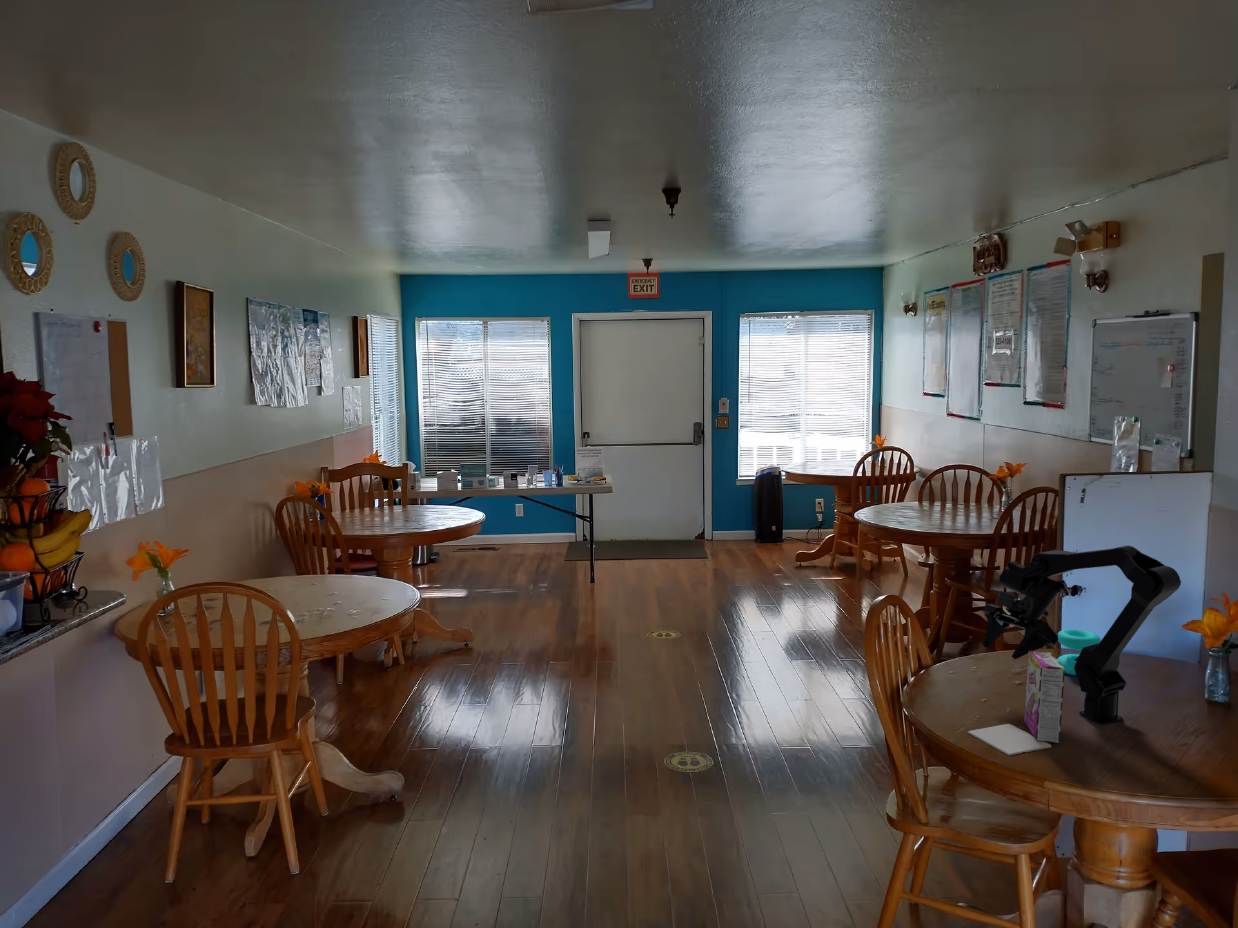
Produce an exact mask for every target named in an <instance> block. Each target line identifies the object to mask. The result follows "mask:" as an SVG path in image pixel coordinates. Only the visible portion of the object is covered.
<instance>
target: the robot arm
mask: <svg viewBox="0 0 1238 928" xmlns="http://www.w3.org/2000/svg"><path fill="white" fill-rule="evenodd" d="M1112 566H1117V568H1118V569H1119V570H1121V572H1122V573H1123V575H1124V576H1125V578H1126V579H1127V580H1129V582H1131V583H1132V585H1131V594H1130V595H1131V596H1130V599H1129V601H1128V602H1127V604H1126V605H1125V606H1124V607H1123V609H1122V611H1121V612H1119V615H1118V616H1117V618H1116V619H1115V620H1114V622H1113V623H1112V625H1111V626H1110V627H1109V629H1108V630H1107V632H1106V633H1105V634H1104V636H1103V637H1102V639H1101V641H1100V643H1097V644H1094V645H1090V646H1087V647H1084V648H1083V649H1082V650H1080V653H1079V654H1078V655H1079V656H1078V657H1077V658H1076V659H1074V661H1077V662H1076V663H1075V665H1074V670H1075V673H1076V675H1077V676H1076V677H1077V680H1078V685H1079V688H1080V692H1083V693H1085V696H1084V701H1083V703H1084V704H1083V706H1084V707H1083V709H1084V710H1081V711H1079V712H1078V714H1079V716H1080V715H1081V716H1082V717H1085V718H1087V719H1090V720H1092V721H1093V722H1096V723H1099V724H1101V725H1106V724H1110V723H1111V724H1112V723H1116V722H1120V721H1124V717H1123V716H1121V715H1119V699H1120V698H1119V695H1120V694H1119V693H1120V691H1124V690H1125V687H1126V685H1127V681H1126V679H1125V678H1124V677H1123V676H1122V674H1121V673H1120V671H1118V668H1119V667H1120V659H1121V656H1120V655H1121V654H1122V652H1123V651H1124V650H1125V648H1126V647H1127V646H1128V644H1129V643H1130V641H1131V640H1132V638H1133V637H1134V636H1135V634H1136V633H1137V632H1138V630H1139V629H1140V627H1141V626H1142V625H1143V624H1144V622H1145V621H1146V620H1147V618H1148V617H1149V615H1150V614H1151V613H1152V611H1153V610H1154V608H1155V607H1158V606H1159V605H1160V604H1161V603H1163V602H1164V601H1166V600H1167V599H1168V598H1170V597H1171V596H1172V595H1173V594H1174V593H1176V592H1177V591H1178V590H1179V588H1180V587H1181V585H1182V580H1181V578H1180V575H1179V574H1178V572H1177V570H1175V568H1173V567H1170V566H1168V565H1165V564H1163V563H1162V561H1159V560H1158V559H1156V558H1154V557H1151V556H1149V555H1147V554H1145V553H1143V552H1141V551H1140V550H1139V549H1138V548H1136V547H1135V546H1131V545H1122V546H1117V547H1112V548H1105V549H1104V548H1103V549H1097V550H1089V551H1088V550H1087V551H1080V552H1079V551H1078V552H1077V551H1076V552H1074V551H1068V550H1060V549H1059V550H1057V549H1053V550H1050V551H1049V550H1048V551H1044V552H1043V551H1042V552H1038V553H1035V554H1034V555H1032V558H1031V562H1029V563H1028V564H1027V565H1023V564H1021V563H1019V562H1017V561H1015V560H1013V561H1012V560H1011V561H1008V562H1007V566H1006V567H1005V568H1003V570H1002V572H1001V574H1000V575H999V584H1000V586H1001V587H1004V588H1005V589H1007V590H1010V591H1013V592H1014V593H1017V594H1018V595H1014V594H1011V593H1008V592H1005V591H1002V590H1000V591H999V594H998V596H997V599H996V601H995V604H993V603H988V604H986V605H985V606H984V607H983V609H982V610H981V611H982V613H983V615H984V617H985V618H986V621H987V626H986V630H985V634H984V638H983V640H982V641H983V642H982V647H984V648H985V649H986V648H988V647H989V646H991V645H992V644H993V643H994V642H996V641H997V639H998V638H1000V637H1001V636H1002V635H1003V634H1004V633H1005V632H1006V631H1007V630H1006V628H1008V627H1009V626H1010V625H1011V626H1013V627H1017V628H1020V629H1023V630H1024V634H1023V635H1024V636H1023V638H1022V639H1021V640H1020V642H1019V643H1018V645H1017V647H1016V648H1015V650H1014V651H1013V653H1012V655H1011V658H1012V659H1013V660H1018V659H1019V658H1022V657H1024V656H1026V655H1028V654H1029V651H1037V650H1040V649H1042V648H1048V647H1049V646H1051V647H1054V646H1055V645H1056V643H1057V642H1059V641H1058V633H1057V631H1055V629H1054V628H1053V627H1052V626H1051V624H1050V623H1048V622H1047V621H1044V620H1043V621H1042V620H1041V618H1042V617H1045V618H1047V617H1048V615H1049V614H1050V613H1049V612H1048V609H1049V607H1050V606H1051V604H1052V603H1053V602H1054V601H1055V599H1056V598H1057V596H1058V595H1059V594H1061V595H1064V596H1066V597H1068V596H1070V591H1069V590H1068V584H1067V583H1066V581H1065V580H1064V579H1062V580H1056V579H1053V578H1050V577H1055V576H1058V575H1059V576H1060V575H1063V574H1067V573H1069V572H1073V571H1074V570H1075V571H1076V570H1080V569H1081V570H1082V569H1092V568H1102V567H1103V568H1104V567H1112ZM999 605H1000V606H999ZM1001 606H1003V607H1005V610H1004V609H1003V608H1002V607H1001ZM1008 613H1009V614H1008Z"/></svg>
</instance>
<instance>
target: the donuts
mask: <svg viewBox="0 0 1238 928" xmlns="http://www.w3.org/2000/svg"><path fill="white" fill-rule="evenodd" d="M1057 634H1058V641H1057V642H1058V643H1059V644H1060V645H1061V646H1064V647H1066V648H1067V649H1070V650H1076V651H1081V650H1082V649H1083V648H1084V647H1087V646H1090V645H1094V644H1097V643H1100V641H1101V640H1102V639H1101V637H1100V636H1099V635H1098V634H1097V633H1095V632H1093V631H1089V630H1085V629H1078V628H1067V629H1063V630H1059V632H1058V633H1057ZM1079 655H1080V654H1076V653H1068V654H1063V655H1060V656H1059V657H1058V658H1056V659H1057V660H1058V661H1059V662H1060V664H1061V665H1062V666H1063V667H1064V668H1065V673H1064V674H1067V675H1071V676H1076V677H1077V675H1076V673H1075V670H1074V665H1075V663H1076V662H1077V661H1074V659H1076V658H1077V657H1078V656H1079Z"/></svg>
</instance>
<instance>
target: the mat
mask: <svg viewBox="0 0 1238 928" xmlns="http://www.w3.org/2000/svg"><path fill="white" fill-rule="evenodd" d="M967 734H969V735H971V736H973V737H975V738H976V739H978V740H979V741H982V742H984V743H986V744H987V745H988V746H991V747H993V748H994V749H996V750H998V751H1000V752H1002V753H1003V754H1005V755H1007V756H1013V755H1018V754H1024V753H1023V752H1025V753H1028V752H1033V751H1034V750H1035V751H1039V750H1040V751H1041V750H1045V749H1050V748H1052V745H1051V744H1050V743H1049V742H1040V741H1036V739H1035V738H1034V736H1033V734H1030V733H1028V732H1027V731H1024V730H1022V729H1020V728H1018V727H1017V726H1015V725H1012V724H1010V723H1004V724H999V725H995V726H994V725H993V726H990V727H989V726H988V727H983V728H978V729H973V730H972V729H971V730H968V731H967Z"/></svg>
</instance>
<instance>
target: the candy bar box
mask: <svg viewBox="0 0 1238 928" xmlns="http://www.w3.org/2000/svg"><path fill="white" fill-rule="evenodd" d="M1027 656H1028V657H1027V671H1026V690H1025V704H1024V718H1023V719H1024V720H1023V722H1024V723H1025V725H1026V727H1027V728H1028V729H1029V732H1030V733H1031V735H1032V736H1034V738H1035V739H1036V741H1040V742H1046V743H1054V744H1055V743H1056V744H1059V743H1060V741H1061V731H1062V730H1061V728H1062V714H1063V713H1062V712H1063V711H1062V710H1063V703H1064V702H1063V701H1064V700H1063V699H1064V688H1065V687H1064V685H1065V674H1066V673H1065V668H1064V667H1063V666H1062V665H1061V664H1060V662H1059V661H1058V660H1057V659H1058V658H1056V657H1055V655H1054V653H1052V652H1050V651H1040V650H1038V651H1037V650H1035V651H1029V653H1028V654H1027Z"/></svg>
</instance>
